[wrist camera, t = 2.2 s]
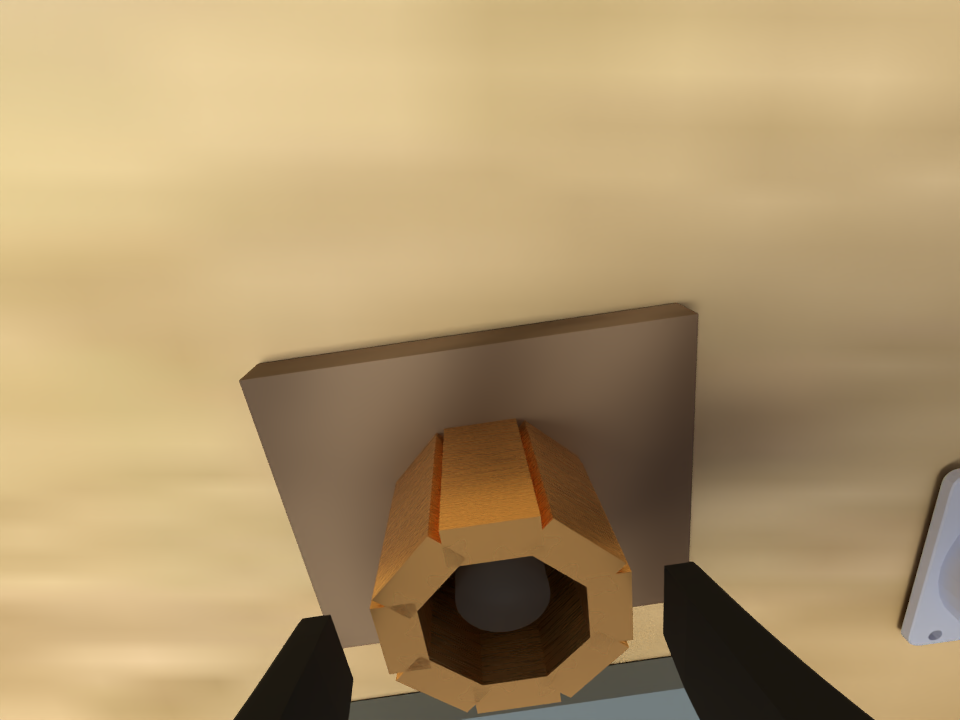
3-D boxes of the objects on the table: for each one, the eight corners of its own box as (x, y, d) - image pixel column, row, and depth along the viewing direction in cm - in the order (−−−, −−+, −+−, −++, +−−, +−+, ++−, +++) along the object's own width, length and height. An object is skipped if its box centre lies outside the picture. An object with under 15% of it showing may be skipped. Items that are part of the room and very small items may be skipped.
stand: (677, 303, 13) (784, 358, 9) (671, 570, 16) (745, 702, 12) (258, 363, 13) (161, 449, 9) (343, 617, 16) (304, 765, 12)
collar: (578, 409, 13) (630, 503, 9) (588, 561, 14) (634, 691, 11) (381, 437, 13) (349, 543, 9) (418, 586, 15) (404, 724, 11)
